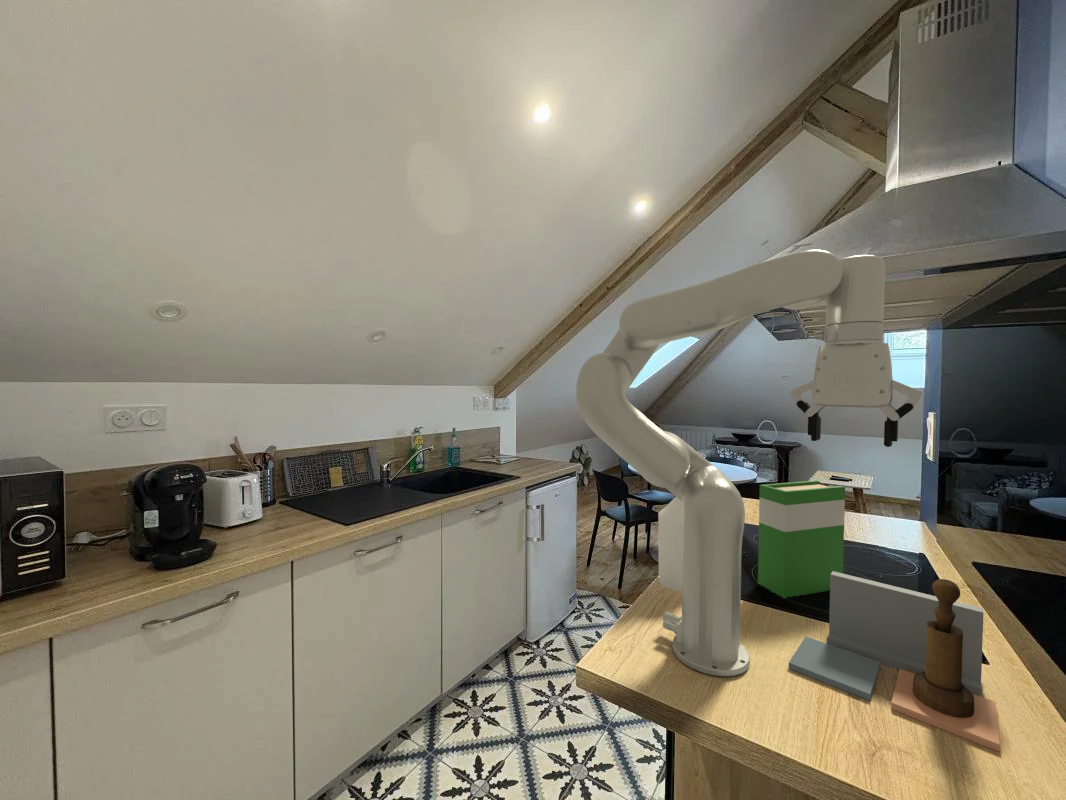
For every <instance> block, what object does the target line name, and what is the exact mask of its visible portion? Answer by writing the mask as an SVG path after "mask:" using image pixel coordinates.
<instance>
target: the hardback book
mask: <svg viewBox="0 0 1066 800" xmlns="http://www.w3.org/2000/svg"><path fill="white" fill-rule="evenodd" d="M820 483H821V481H820V480H817V479H816V480H806V481H793V482H792V481H791V482H780V483H779V482H778V483H769V484H768V483H766V484H759V503H758V504H759V506H758V508H759V509H758V511H759V512H758V550H757V551H758V555H757V556H758V559H757V560H758V561H757V563H758V564H757V567H758V568H757V585H758V584H760V585H762V586H764V587H765V588H767V589H769V590H770V591H769V590H768V591H769V592H771V591H772V592H771V593H773V592H774V593H776V594H777V596H778V595H779V596H778V597H780V596H781V597H780V598H782V597H783V598H782V599H788V598H787V597H790V598H793V596H795V597H799V596H800V595H801V596H806V595H811V594H817V593H818V594H819V593H823V592H828V591H829V592H830V574H831V573H832V571H834V572H839V573H843V574H844V544H845V506H846V505H845V504H846V503H845V502H846V501H845V500H846V486H843V485H837V486H827V485H824V484H820ZM760 585H759V586H760ZM762 586H761V587H762ZM765 588H764V589H765ZM767 589H766V590H767ZM774 593H773V594H774ZM776 594H775V595H776Z"/></svg>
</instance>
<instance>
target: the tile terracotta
mask: <svg viewBox="0 0 1066 800" xmlns="http://www.w3.org/2000/svg"><path fill="white" fill-rule="evenodd" d="M914 675H915V674H914V673H911V672H908V671H905V670H902V669H899V670H898V674H897V677H896V683H895V685H894V690H893V694H892V698H891V702H890V704H891V705H890V706H891V707H890V708H891V710H892V711H894V712H898V713H900V714H903V715H905V716H907V717H910V718H913V719H916V720H918V721H920V722H923V723H925V724H928V725H931V726H933V727H935V728H938V729H940V730H942V731H943V730H944V731H945V732H948V733H951V734H952V735H956V736H958V737H960V738H963V739H966V740H969V741H971V742H972V743H975V744H978V745H981V746H983V747H986V748H988V749H991V750H993V749H994V750H993V751H996V750H997V751H996V752H998V751H1000V749H1001V746H1000V745H1001V744H1000V743H1001V742H1000V733H999V723H998V722H999V720H998V712H997V711H998V710H997V701H995V700H992V699H989V698H987V697H983V696H982V695H981V696H978V695H975V694H973V696H974V714H973V716H971V717H967V718H961V717H955V716H950V715H947V714H944V713H941V712H939V711H936V710H934V709H932V708H930V707H929V706H927V705H925V704H924V703H922V702H921V701H920V700H919V699H917V698H916V696H915V695H914V693H913V678H914Z"/></svg>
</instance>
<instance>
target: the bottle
mask: <svg viewBox="0 0 1066 800" xmlns="http://www.w3.org/2000/svg"><path fill="white" fill-rule="evenodd" d="M657 513H658V514H657V515H658V517H657V518H658V523H657V524H658V525H657V526H658V527H657V528H658V529H657V530H658V581H659V583H660V584H661V585H663V586H664V587H665V588H668V590H669V589H670V590H672V591H675V592H681V593H682V581H683V528H684V508H683V502H682V501H681V500H679V499H678V498H677V497H676V496H675V497H674V498H673V499H672V500H671V501H670V502H669V503H668V504H667V505H666V506H665V507H663V508H662V509H661V510H659V512H657ZM659 576H660V577H659Z"/></svg>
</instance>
